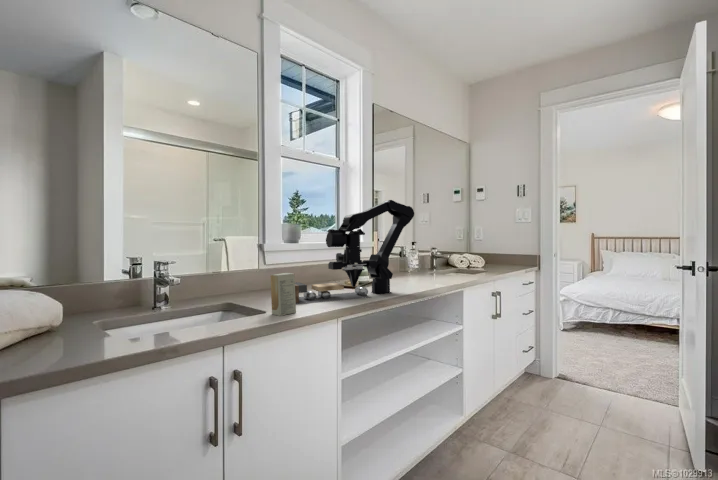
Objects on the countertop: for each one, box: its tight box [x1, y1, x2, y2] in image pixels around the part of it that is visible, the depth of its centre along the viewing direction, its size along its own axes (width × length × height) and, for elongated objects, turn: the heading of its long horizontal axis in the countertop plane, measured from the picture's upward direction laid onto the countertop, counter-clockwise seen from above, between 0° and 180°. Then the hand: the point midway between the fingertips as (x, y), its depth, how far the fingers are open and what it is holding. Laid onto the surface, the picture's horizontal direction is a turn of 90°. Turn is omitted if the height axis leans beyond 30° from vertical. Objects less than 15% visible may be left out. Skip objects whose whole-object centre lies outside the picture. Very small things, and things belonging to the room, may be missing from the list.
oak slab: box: [311, 282, 345, 292], centre depth 141 cm, size 10×8×2 cm
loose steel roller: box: [303, 289, 317, 300], centre depth 138 cm, size 3×6×3 cm, turn 25°
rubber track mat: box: [296, 291, 372, 306], centre depth 141 cm, size 30×16×1 cm, turn 115°
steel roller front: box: [317, 291, 331, 299], centre depth 140 cm, size 3×6×3 cm
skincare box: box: [270, 272, 297, 317], centre depth 114 cm, size 6×4×12 cm
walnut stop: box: [295, 281, 308, 303], centre depth 136 cm, size 6×10×6 cm, turn 25°
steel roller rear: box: [354, 285, 369, 296], centre depth 147 cm, size 3×6×3 cm
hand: (353, 286), depth 146 cm, fingers closed
